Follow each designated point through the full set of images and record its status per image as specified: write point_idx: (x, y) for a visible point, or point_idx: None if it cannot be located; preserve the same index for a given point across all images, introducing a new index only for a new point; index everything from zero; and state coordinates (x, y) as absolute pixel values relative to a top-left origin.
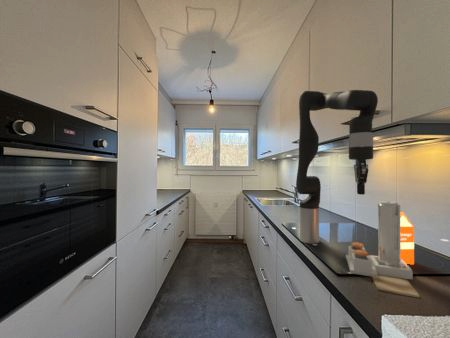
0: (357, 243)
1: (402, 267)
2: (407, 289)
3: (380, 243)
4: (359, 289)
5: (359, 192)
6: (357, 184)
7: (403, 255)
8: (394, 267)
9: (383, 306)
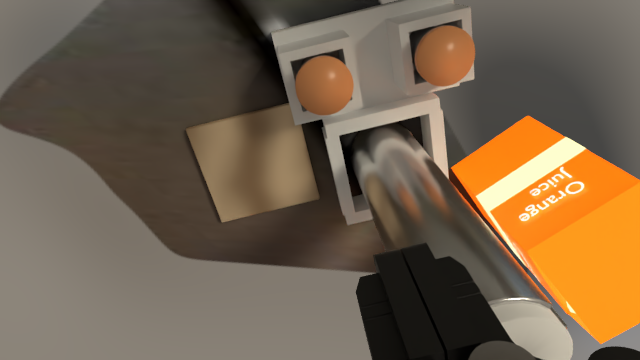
0: (456, 58)
1: None
2: (241, 199)
3: (389, 173)
4: (150, 75)
5: (359, 284)
6: (419, 350)
7: (481, 207)
8: (343, 180)
9: (92, 144)
